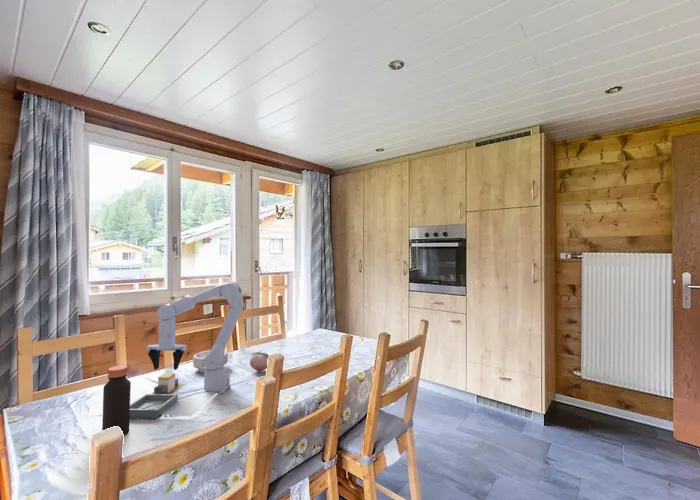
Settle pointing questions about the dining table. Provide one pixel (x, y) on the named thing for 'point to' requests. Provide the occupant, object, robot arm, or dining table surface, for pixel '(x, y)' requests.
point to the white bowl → (199, 358)
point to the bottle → (117, 399)
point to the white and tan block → (167, 381)
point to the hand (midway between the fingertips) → (166, 368)
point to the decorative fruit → (259, 361)
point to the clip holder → (164, 388)
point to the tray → (151, 412)
